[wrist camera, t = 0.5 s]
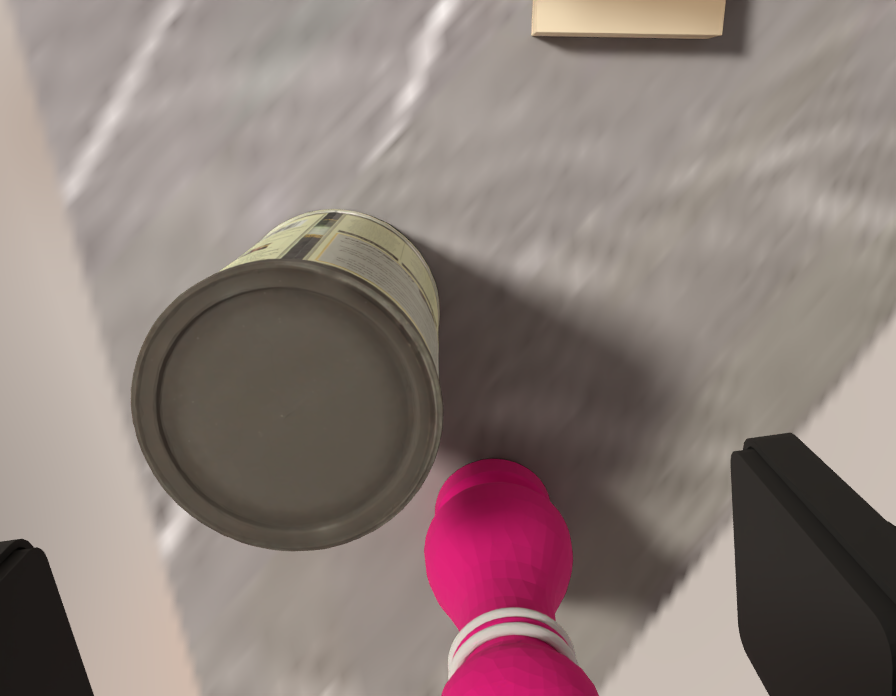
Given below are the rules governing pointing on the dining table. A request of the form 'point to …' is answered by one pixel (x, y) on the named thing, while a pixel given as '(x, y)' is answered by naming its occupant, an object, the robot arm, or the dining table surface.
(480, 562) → the pepper mill
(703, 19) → the maple board
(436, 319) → the coffee can
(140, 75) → the dining table surface
